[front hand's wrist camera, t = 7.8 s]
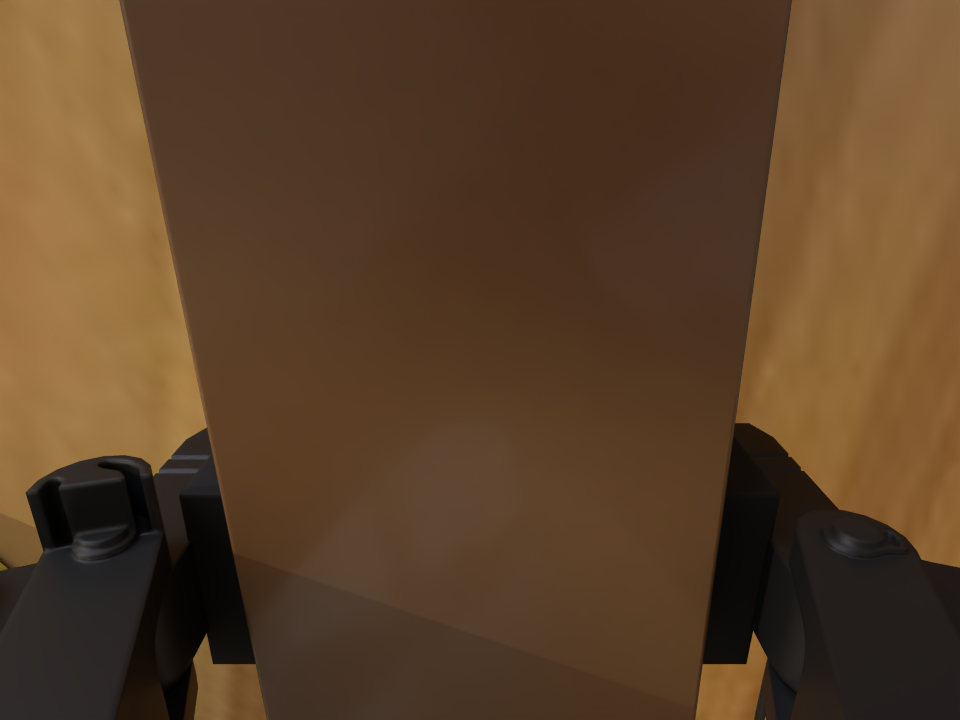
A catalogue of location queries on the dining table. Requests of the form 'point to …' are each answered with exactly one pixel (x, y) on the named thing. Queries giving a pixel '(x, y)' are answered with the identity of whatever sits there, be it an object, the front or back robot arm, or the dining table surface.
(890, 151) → the dining table surface
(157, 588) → the front robot arm
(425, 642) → the beam
